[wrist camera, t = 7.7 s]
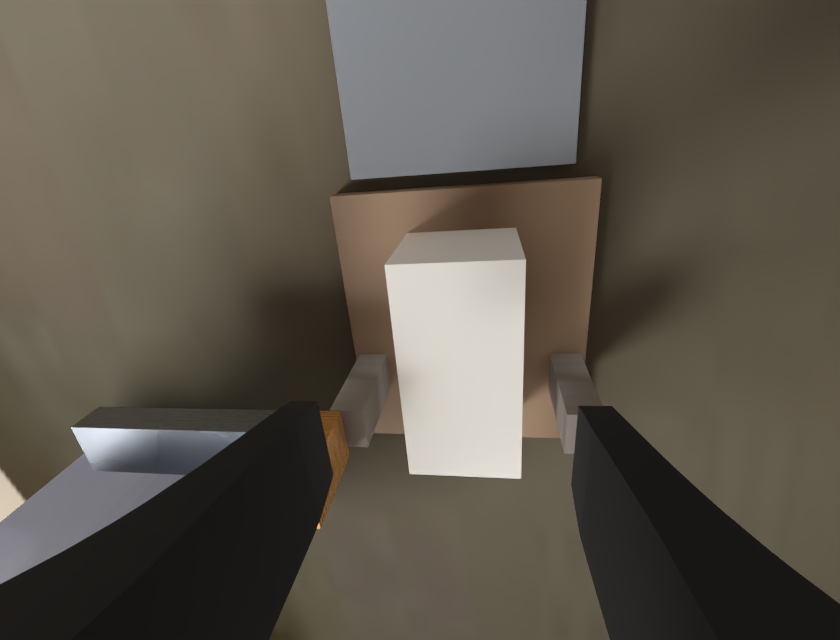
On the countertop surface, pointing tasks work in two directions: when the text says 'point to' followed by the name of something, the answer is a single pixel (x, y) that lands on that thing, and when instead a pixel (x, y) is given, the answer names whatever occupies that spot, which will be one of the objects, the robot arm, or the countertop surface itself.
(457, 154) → the mat
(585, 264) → the brown stand with pegs
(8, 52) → the countertop surface
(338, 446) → the gray and orange bar
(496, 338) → the white block
